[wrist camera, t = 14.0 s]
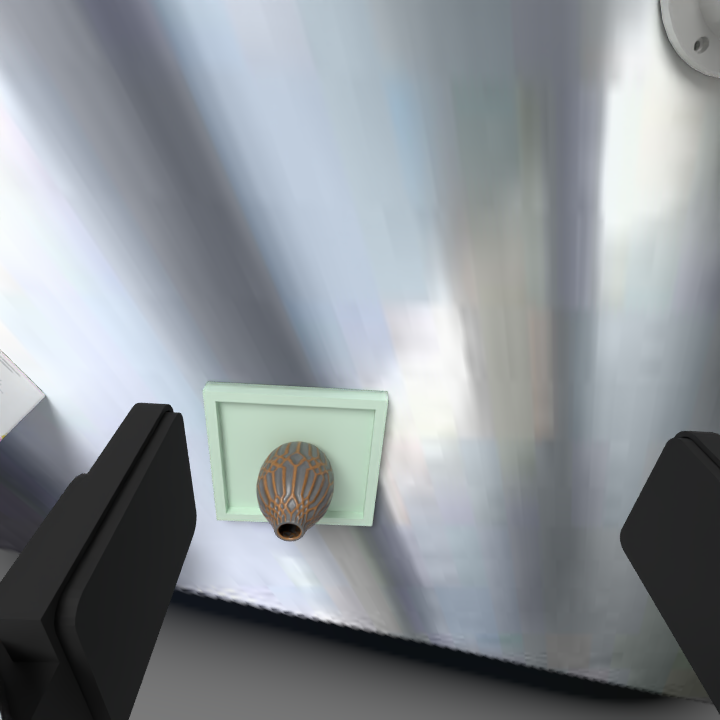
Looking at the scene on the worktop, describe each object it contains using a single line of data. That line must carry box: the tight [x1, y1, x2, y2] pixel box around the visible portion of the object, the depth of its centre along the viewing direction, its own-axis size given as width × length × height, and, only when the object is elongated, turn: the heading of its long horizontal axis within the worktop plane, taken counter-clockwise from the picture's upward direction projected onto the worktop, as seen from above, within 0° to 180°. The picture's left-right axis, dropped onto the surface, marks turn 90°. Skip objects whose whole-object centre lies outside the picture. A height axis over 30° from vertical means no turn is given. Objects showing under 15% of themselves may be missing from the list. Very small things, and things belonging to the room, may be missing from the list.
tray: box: [203, 382, 388, 526], centre depth 45 cm, size 16×16×2 cm
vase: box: [256, 441, 334, 541], centre depth 42 cm, size 7×7×9 cm
